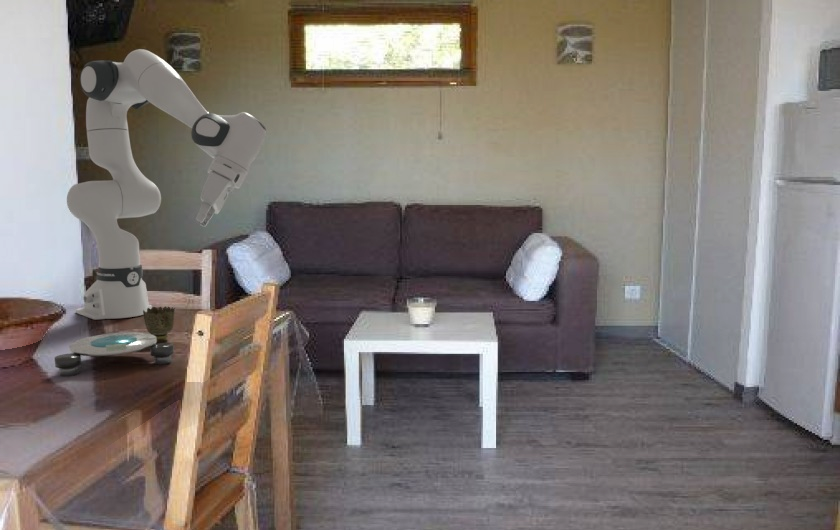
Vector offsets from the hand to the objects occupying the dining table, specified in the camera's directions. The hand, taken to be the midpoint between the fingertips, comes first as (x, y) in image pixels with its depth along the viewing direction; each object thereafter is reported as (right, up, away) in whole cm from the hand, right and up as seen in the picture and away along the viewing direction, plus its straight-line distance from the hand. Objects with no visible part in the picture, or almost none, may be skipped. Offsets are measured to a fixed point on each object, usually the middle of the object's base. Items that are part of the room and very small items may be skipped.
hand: (200, 223), depth 183 cm
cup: (-11, -29, +3) cm, 31 cm away
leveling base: (-16, -32, -18) cm, 40 cm away
